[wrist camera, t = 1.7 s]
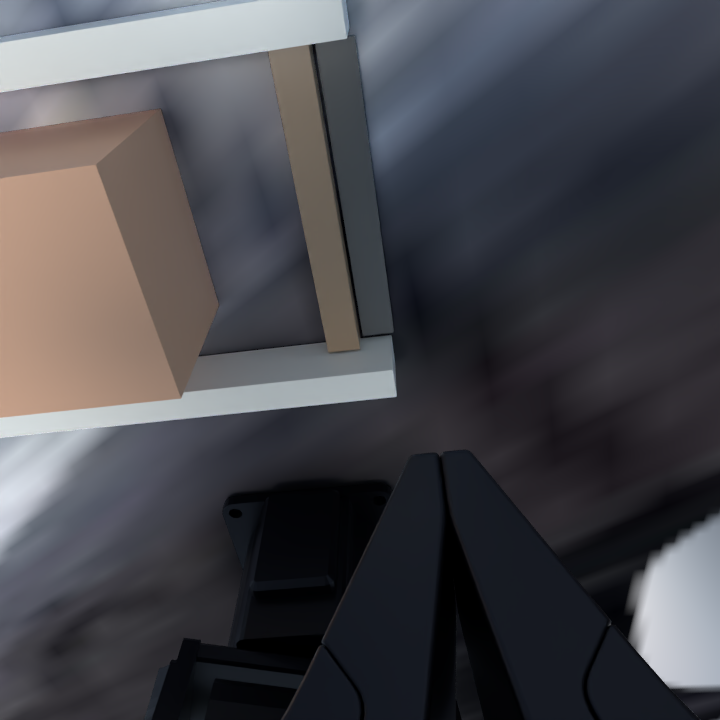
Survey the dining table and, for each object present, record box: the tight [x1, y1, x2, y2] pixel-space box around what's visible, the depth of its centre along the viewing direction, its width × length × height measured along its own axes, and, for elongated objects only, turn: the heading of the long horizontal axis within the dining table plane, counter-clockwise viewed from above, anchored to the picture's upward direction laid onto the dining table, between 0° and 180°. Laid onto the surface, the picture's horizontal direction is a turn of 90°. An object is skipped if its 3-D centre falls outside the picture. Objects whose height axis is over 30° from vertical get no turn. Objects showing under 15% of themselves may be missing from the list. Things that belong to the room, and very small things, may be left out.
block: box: [0, 109, 219, 418], centre depth 17 cm, size 6×6×5 cm
